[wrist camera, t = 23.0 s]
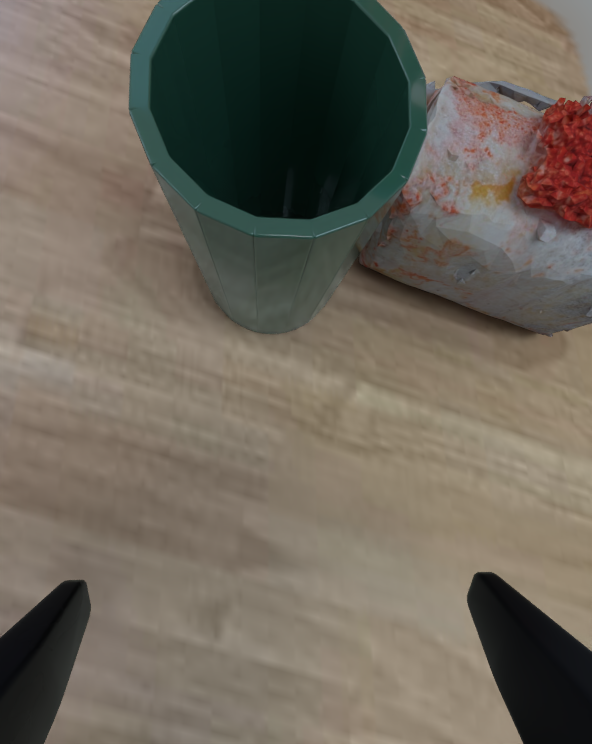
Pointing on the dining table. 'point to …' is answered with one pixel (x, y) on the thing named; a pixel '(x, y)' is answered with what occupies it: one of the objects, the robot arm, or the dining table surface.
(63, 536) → the dining table surface
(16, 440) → the dining table surface
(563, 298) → the food item
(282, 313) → the mug
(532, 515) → the dining table surface
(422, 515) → the dining table surface
